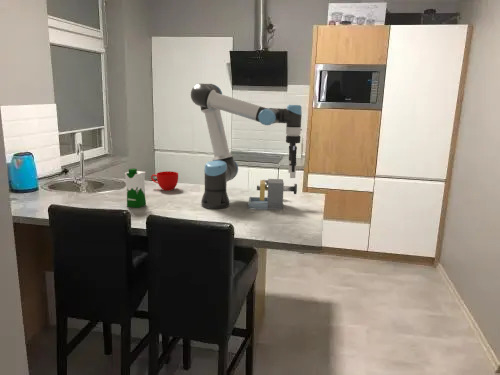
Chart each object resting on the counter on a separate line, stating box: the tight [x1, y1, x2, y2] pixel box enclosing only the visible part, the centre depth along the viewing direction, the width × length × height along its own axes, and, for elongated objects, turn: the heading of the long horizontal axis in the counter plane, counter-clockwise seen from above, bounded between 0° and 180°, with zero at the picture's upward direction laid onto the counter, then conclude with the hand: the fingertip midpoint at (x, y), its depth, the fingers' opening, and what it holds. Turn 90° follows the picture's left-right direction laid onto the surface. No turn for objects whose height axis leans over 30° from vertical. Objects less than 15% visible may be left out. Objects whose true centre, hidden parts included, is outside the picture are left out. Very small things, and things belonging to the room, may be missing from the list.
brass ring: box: [259, 179, 266, 201], centre depth 215 cm, size 2×9×9 cm, turn 178°
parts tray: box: [248, 196, 268, 210], centre depth 217 cm, size 10×13×3 cm
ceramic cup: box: [150, 171, 179, 191], centre depth 245 cm, size 13×17×10 cm
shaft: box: [256, 183, 298, 195], centre depth 214 cm, size 21×6×6 cm, turn 88°
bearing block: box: [266, 178, 285, 211], centre depth 215 cm, size 8×14×14 cm, turn 178°
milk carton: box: [124, 167, 147, 209], centre depth 208 cm, size 9×9×20 cm
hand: (291, 175), depth 212 cm, fingers open, 13 cm apart
